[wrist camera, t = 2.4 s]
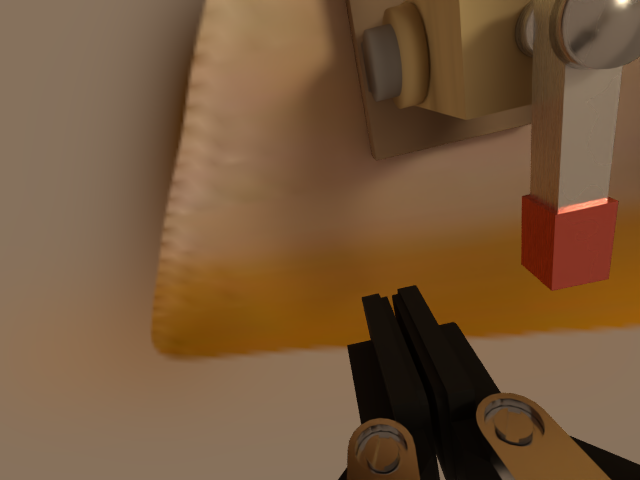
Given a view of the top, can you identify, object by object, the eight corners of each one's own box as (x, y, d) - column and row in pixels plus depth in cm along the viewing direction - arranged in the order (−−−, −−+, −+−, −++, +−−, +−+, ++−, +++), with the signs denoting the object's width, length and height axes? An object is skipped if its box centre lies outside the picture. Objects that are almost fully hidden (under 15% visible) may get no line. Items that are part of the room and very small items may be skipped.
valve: (537, -91, 18) (736, -235, 9) (533, 116, 22) (669, 141, 14) (339, -37, 18) (366, -127, 10) (372, 155, 22) (409, 201, 14)
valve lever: (501, -9, 11) (571, -39, 8) (585, -31, 11) (687, -70, 8) (505, 257, 15) (553, 301, 12) (567, 244, 15) (630, 285, 12)
